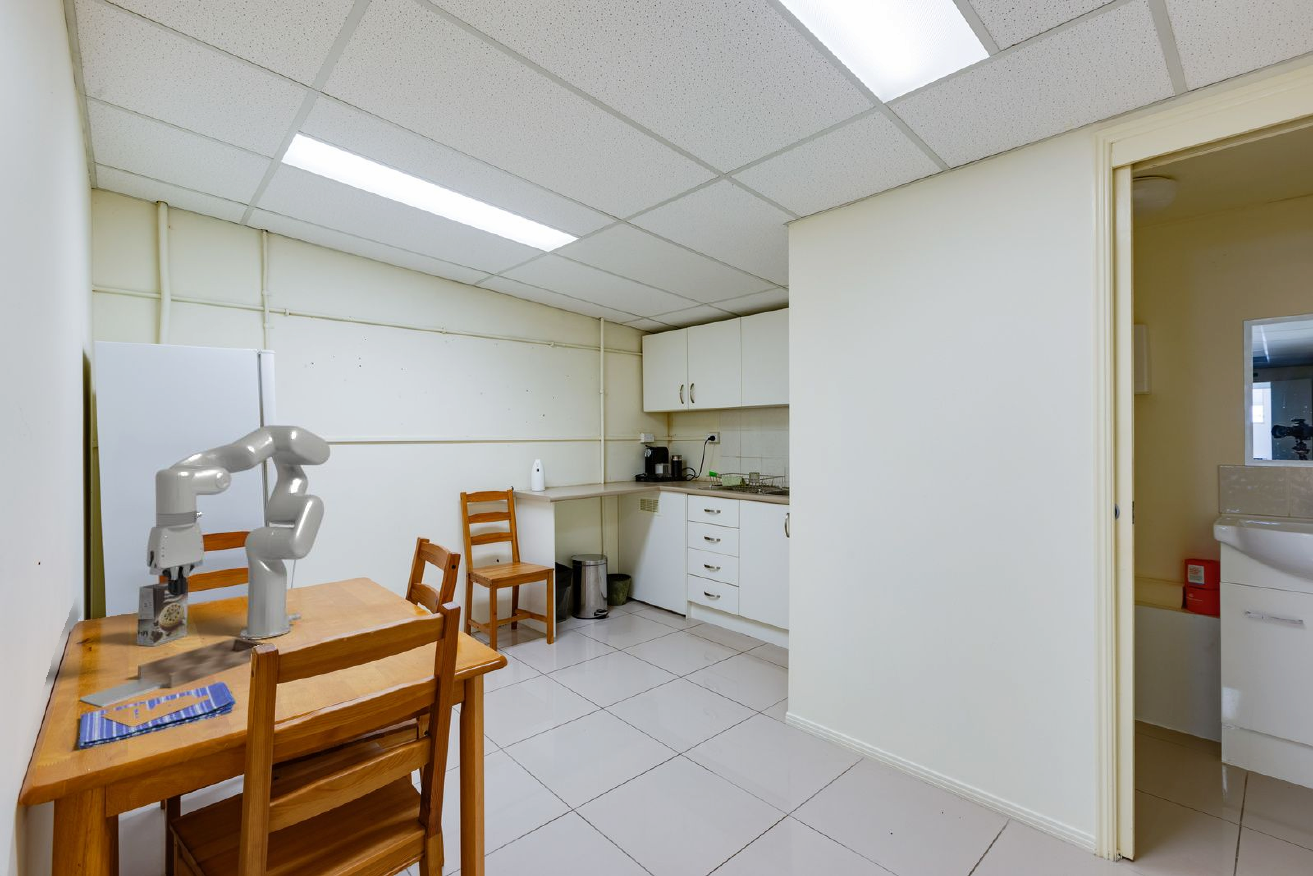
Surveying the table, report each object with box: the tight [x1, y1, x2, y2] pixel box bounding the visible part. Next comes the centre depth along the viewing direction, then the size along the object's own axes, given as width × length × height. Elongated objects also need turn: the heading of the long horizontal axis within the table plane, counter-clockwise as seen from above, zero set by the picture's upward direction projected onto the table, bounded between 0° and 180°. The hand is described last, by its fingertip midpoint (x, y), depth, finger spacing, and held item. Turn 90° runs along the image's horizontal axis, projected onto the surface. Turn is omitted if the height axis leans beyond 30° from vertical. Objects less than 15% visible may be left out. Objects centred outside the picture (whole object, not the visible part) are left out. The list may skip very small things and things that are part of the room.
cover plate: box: [80, 678, 165, 708], centre depth 125 cm, size 11×8×2 cm
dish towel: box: [78, 681, 237, 751], centre depth 117 cm, size 17×24×3 cm
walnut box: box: [137, 637, 267, 689], centre depth 141 cm, size 22×13×4 cm, turn 158°
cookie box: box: [136, 580, 189, 647], centre depth 161 cm, size 9×6×16 cm
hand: (177, 594), depth 138 cm, fingers closed
